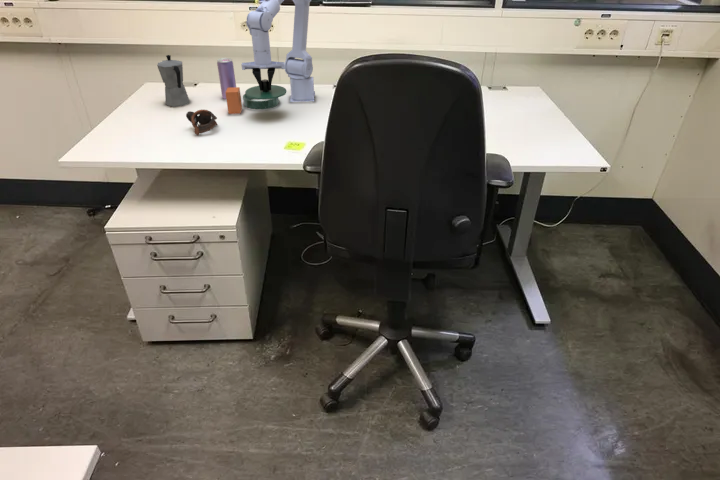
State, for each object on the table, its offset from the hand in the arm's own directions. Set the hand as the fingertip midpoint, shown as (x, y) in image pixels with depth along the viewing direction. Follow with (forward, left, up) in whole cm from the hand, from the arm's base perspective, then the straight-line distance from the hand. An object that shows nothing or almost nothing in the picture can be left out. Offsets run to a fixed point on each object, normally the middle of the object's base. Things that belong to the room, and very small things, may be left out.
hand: (265, 89), depth 177 cm
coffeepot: (+36, -17, -10) cm, 41 cm away
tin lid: (0, 0, -1) cm, 1 cm away
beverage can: (+17, -22, -10) cm, 29 cm away
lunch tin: (+4, -14, -10) cm, 17 cm away
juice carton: (+13, -6, -10) cm, 17 cm away
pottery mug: (+22, +11, -10) cm, 26 cm away
